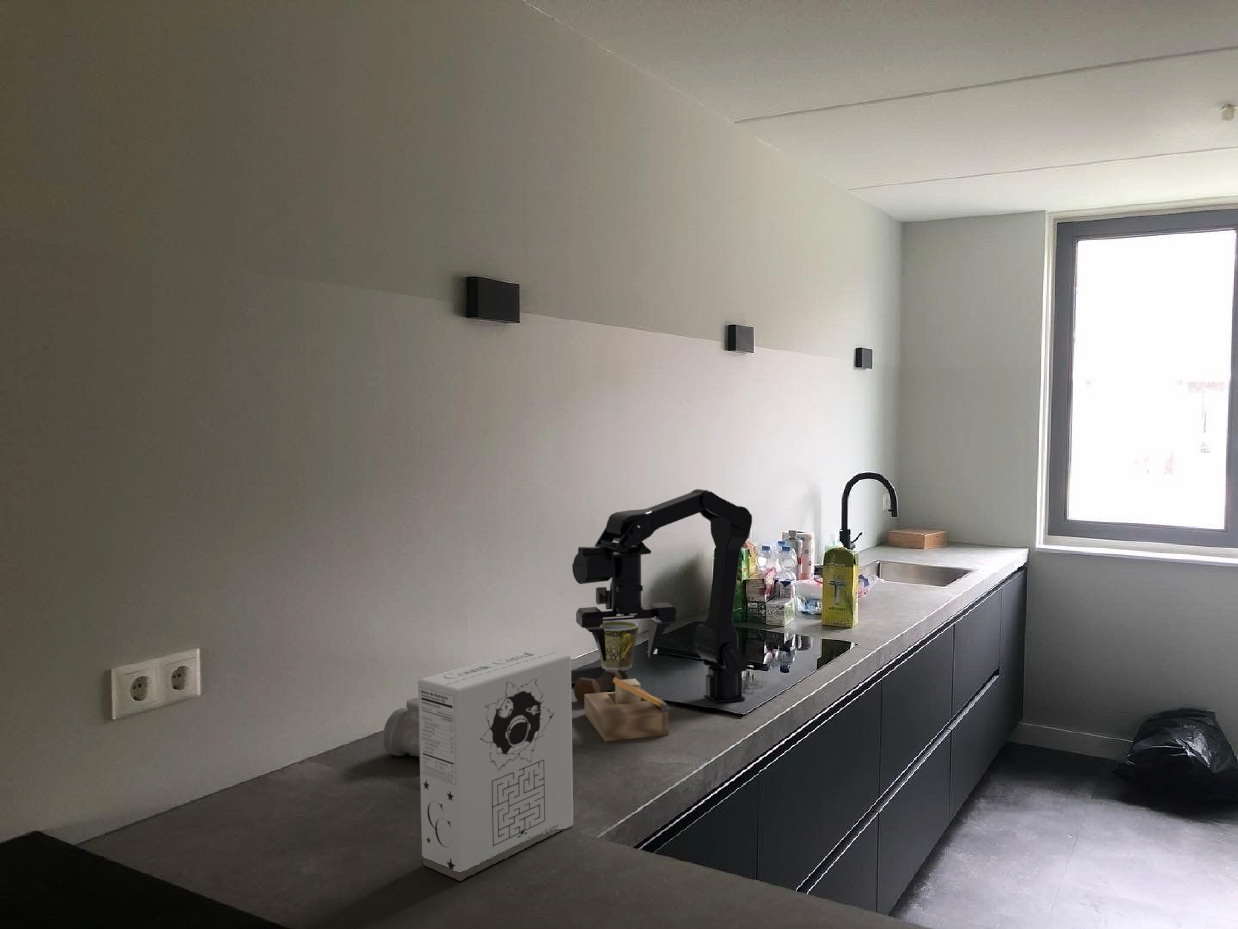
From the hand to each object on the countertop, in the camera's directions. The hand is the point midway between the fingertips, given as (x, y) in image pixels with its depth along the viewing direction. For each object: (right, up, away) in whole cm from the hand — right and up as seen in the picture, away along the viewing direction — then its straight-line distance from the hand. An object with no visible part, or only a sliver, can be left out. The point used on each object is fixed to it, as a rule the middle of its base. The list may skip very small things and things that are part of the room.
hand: (627, 659), depth 188 cm
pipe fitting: (-35, -13, -20) cm, 42 cm away
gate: (+2, -5, -7) cm, 9 cm away
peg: (0, -12, +1) cm, 12 cm away
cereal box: (-18, -15, -53) cm, 58 cm away
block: (0, -12, -3) cm, 12 cm away
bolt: (-5, -11, +16) cm, 20 cm away
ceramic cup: (-1, -10, +35) cm, 36 cm away
